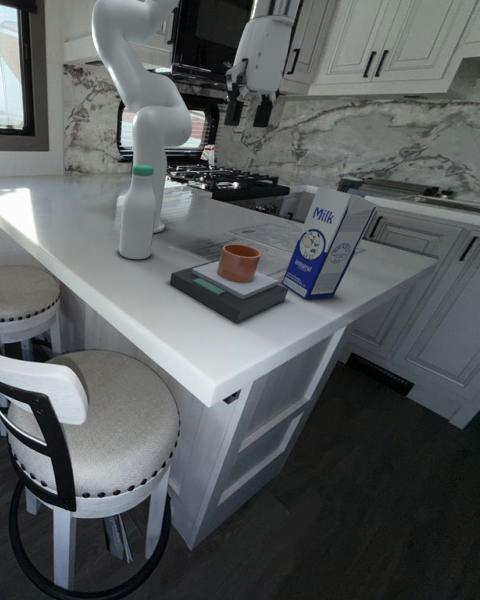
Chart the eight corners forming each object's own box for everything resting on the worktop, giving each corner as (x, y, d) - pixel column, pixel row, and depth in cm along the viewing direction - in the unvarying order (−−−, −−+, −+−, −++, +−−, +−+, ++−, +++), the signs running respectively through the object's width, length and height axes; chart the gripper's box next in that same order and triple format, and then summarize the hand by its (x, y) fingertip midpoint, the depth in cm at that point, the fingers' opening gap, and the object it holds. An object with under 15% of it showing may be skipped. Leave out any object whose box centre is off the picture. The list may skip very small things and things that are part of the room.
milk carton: (280, 283, 65) (318, 184, 55) (307, 281, 67) (348, 185, 56) (305, 299, 59) (352, 193, 49) (334, 297, 61) (385, 193, 50)
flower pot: (209, 271, 60) (215, 247, 57) (231, 264, 63) (237, 241, 61) (239, 285, 55) (246, 260, 53) (260, 277, 59) (269, 253, 56)
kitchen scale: (169, 283, 62) (172, 268, 60) (217, 269, 70) (220, 254, 68) (236, 323, 51) (241, 305, 49) (284, 300, 59) (290, 284, 57)
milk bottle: (148, 262, 71) (160, 169, 61) (116, 257, 72) (122, 166, 62) (151, 250, 78) (162, 165, 67) (122, 246, 79) (128, 162, 68)
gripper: (279, 28, 61) (254, 127, 70) (224, 8, 52) (203, 124, 61) (318, 21, 56) (285, 129, 64) (264, -2, 47) (235, 126, 56)
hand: (245, 126), depth 63 cm, fingers open, 9 cm apart
